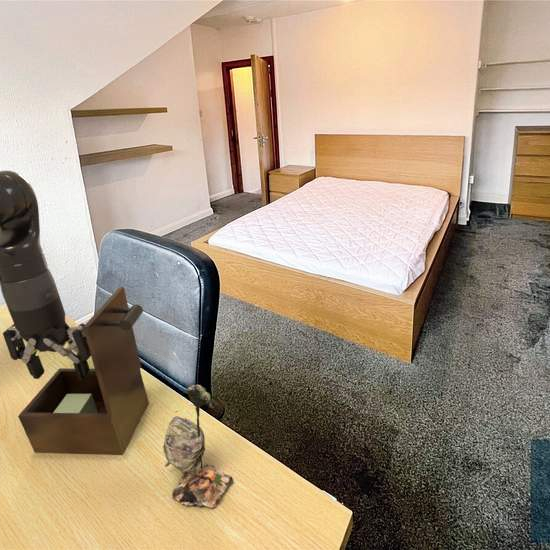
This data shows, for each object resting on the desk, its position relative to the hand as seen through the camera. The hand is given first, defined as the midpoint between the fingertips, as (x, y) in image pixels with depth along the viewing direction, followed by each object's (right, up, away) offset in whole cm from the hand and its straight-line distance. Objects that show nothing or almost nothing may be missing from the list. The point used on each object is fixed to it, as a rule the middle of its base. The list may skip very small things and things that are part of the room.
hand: (61, 376), depth 74 cm
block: (+1, -10, +5) cm, 11 cm away
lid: (+11, +5, -4) cm, 13 cm away
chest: (+4, -11, +5) cm, 13 cm away
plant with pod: (+26, -16, -8) cm, 31 cm away
